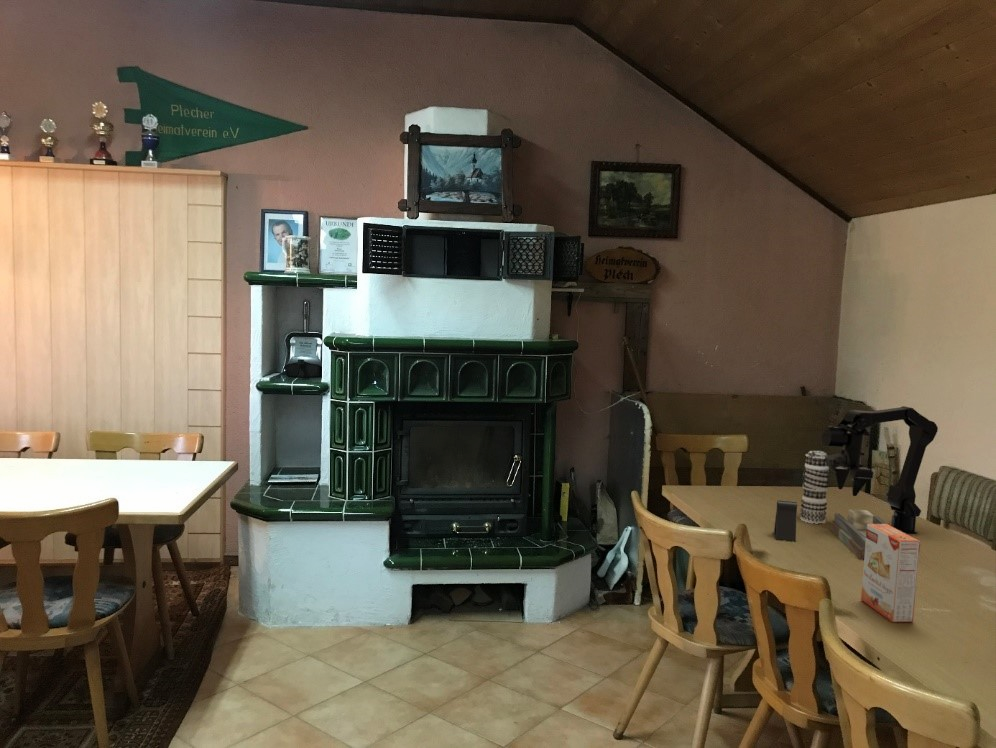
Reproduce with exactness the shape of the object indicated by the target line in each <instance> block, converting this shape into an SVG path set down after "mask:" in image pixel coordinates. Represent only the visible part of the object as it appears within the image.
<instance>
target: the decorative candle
mask: <svg viewBox="0 0 996 748" xmlns="http://www.w3.org/2000/svg"><path fill="white" fill-rule="evenodd" d="M805 456H806V457H805V463H804V466H803V467H802V471H803V473H802V478H801V479H802V481H803V482H802V488H803V493H802V499H801V500H800V501H801V505H800V506H801V509H800V510H799V511H800V514H799V516H800V518H799V520H800V519H801V520H800V521H802V520H803V521H802V522H804V521H805V522H804V523H807V522H808V523H809V524H813V523H815V525H819V524H818V523H823V524H825V523H826V518H827V515H826V514H827V512H826V510H827V507H826V506H827V505H828V503H827V491H829V489H828V488H829V485H828V484H830V482H829V480H828V479H831V475H830V474H831V472H830V471H831V470H830V467H829V466H828V467H827V465H826V460H825V457H827V456H829V455H828V454H827V452H825V451H822V450H810V451H808V453H805ZM808 523H807V524H808Z"/></svg>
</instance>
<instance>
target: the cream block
mask: <svg viewBox="0 0 996 748" xmlns="http://www.w3.org/2000/svg"><path fill="white" fill-rule="evenodd" d="M873 516H874V515H873V513H871V512H870V511H868V509H867V510H865V509H850V508H849V509H848V512H847V521H848V522H849V523H851V524H852V525H853V526H854V527H855V528H856V529H864V530H867V524H873Z"/></svg>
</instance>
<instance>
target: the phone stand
mask: <svg viewBox="0 0 996 748" xmlns="http://www.w3.org/2000/svg"><path fill="white" fill-rule="evenodd" d="M797 510H798V503H797V502H796V501H788V500H787V501H786V500H779V499H778V500H777V501H776V511H775V517H774V518H775V520H774V526H773V527H774V528H773V534H774V537H776V538H775V540H776V541H783V540H786V541H785V542H792V541H794V542H795V543H796V542H797V538H796V537H797V536H796V535H797V514H798V513H797V512H798V511H797Z"/></svg>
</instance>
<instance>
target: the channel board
mask: <svg viewBox="0 0 996 748" xmlns="http://www.w3.org/2000/svg"><path fill="white" fill-rule="evenodd" d="M833 519H834V520H830V521H829V530H830V532H832V533H833V534H834V535H835V536H836V537H837V538H838V539H839V540H840V542H842V543H843V544H844V545H845V546H846V547H847V548H848V549H849V550H850V551H851V552H852V553H853V554H854V555H855V556H856V557H857V558H858V559H859V560H862V559H864V556H865V543H866V531H867V530H864V529H856V528H855V527H854V526H853V525H852V524H851V523H849V522H848V519H847V518H845V517H844V516H843V515H842V514H841V513H834V518H833ZM873 524H888V522H886V521H885V520H884V519H882V518H881V517H880V516H877V515H873ZM888 525H890V524H888Z"/></svg>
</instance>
